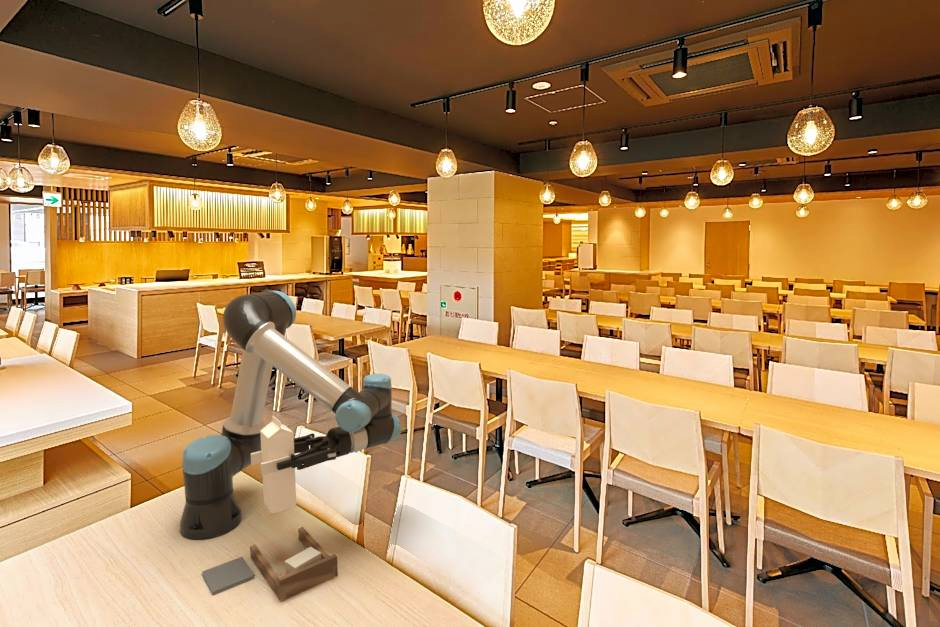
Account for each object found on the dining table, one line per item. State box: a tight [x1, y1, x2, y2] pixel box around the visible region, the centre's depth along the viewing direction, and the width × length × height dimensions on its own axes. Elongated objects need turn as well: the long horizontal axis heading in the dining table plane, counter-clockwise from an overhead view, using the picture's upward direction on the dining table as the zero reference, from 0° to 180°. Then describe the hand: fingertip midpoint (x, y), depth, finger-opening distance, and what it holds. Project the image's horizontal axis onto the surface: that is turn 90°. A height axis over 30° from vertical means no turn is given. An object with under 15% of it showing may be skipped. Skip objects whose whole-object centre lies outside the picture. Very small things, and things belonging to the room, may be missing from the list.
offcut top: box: [284, 547, 321, 574], centre depth 118 cm, size 4×7×3 cm, turn 143°
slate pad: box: [201, 556, 256, 596], centre depth 120 cm, size 9×9×1 cm
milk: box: [260, 415, 297, 514], centre depth 123 cm, size 6×6×22 cm
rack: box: [249, 526, 339, 602], centre depth 123 cm, size 20×13×5 cm
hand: (256, 464), depth 120 cm, fingers closed on milk, 6 cm apart
